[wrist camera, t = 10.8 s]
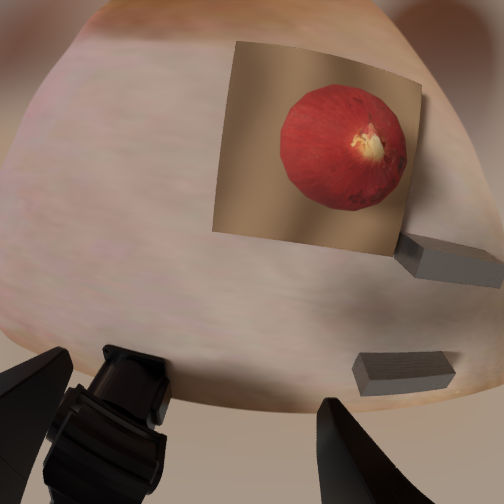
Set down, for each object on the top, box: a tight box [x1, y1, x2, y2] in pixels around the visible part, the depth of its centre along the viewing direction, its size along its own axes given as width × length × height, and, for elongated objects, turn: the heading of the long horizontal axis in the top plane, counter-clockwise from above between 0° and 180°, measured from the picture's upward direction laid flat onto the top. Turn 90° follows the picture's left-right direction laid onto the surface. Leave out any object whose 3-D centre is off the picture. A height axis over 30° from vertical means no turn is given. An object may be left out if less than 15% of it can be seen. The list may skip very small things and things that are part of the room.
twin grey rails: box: [352, 232, 504, 396], centre depth 19 cm, size 10×13×4 cm
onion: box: [280, 84, 407, 211], centre depth 11 cm, size 6×6×8 cm
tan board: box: [212, 41, 422, 257], centre depth 16 cm, size 12×12×2 cm
